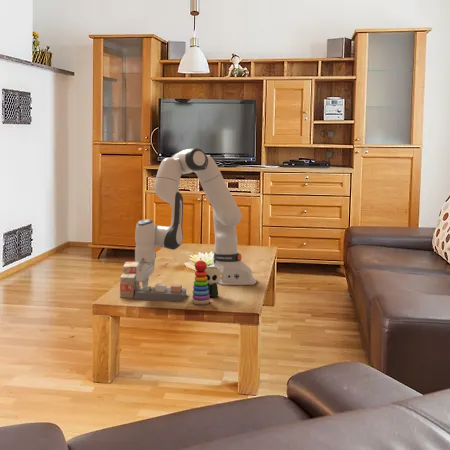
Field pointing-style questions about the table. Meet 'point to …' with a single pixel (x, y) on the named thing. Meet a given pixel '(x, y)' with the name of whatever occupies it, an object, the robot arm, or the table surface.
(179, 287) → the terracotta button
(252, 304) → the table surface
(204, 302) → the stacking toy
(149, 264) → the robot arm
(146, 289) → the sage button
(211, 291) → the character mug
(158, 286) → the cream button
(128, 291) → the stack of blocks
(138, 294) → the button panel
